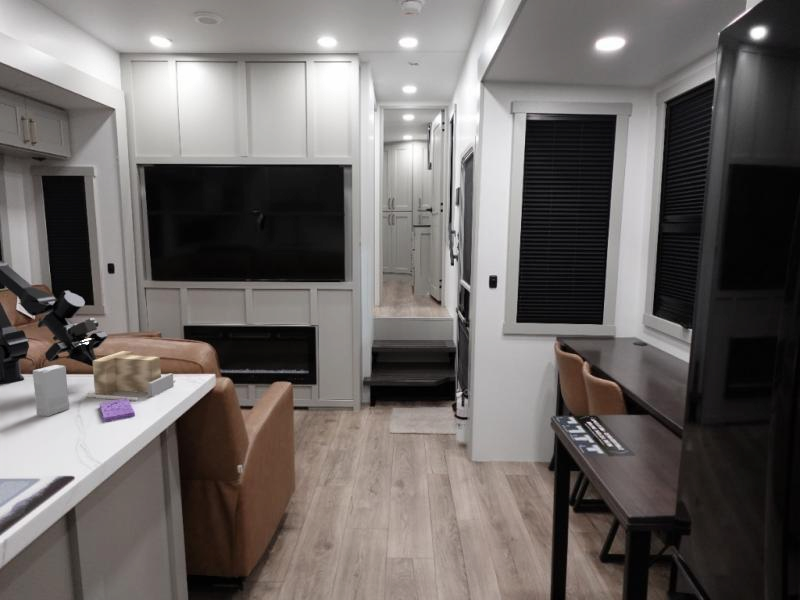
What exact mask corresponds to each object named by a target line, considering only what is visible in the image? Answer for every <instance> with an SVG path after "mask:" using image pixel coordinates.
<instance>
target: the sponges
mask: <svg viewBox="0 0 800 600" xmlns="http://www.w3.org/2000/svg"><path fill="white" fill-rule="evenodd" d="M98 405H99V409H101V410H100V412H102V413H101V416H102V420H103V422H107V423H109V422H112V420H113V421H117V420H122V419H128V418H133V417H135V416H136V414H135V413H136V412H135V409H134V408H133V406H132V404H131V402H130V400H129V399H128V398H125V399H120V400H118V399H113V400H110V401H105V402H99V403H98ZM132 416H133V417H132ZM127 417H128V418H127Z"/></svg>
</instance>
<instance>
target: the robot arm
mask: <svg viewBox="0 0 800 600" xmlns="http://www.w3.org/2000/svg"><path fill="white" fill-rule="evenodd" d="M0 284H1V285H3V286H4V287H5V288H6V289H8V291H10V292H12V294H14V295H15V297H17V298H18V299H19V301H20V306H21V307H22V308H23V309H24V310H25V311H26V312H27V314H29V316H39V315H44V316H43V317H41V318H39V319H38V323H37V327H38V328H44V327H46V328H47V330H49V332H51V333H52V335H53V337H52V339H53V341H58V342H54V343H53V344H52V345H51V346H50V347H49V348H48V349H47V350H46V351H45V353H44V355H45V358H46V360H47V361H48V362H49V363H51V362H54V361H58V360H59V357H60V356H59V355H60V354H63V353H66V352H67V357H66V359H67V360H68V359H71V360H73V361H76V362H78V363H79V362H80V363H81V364H85V365H87V366H91V367H93V360H96V359H97V357H96V355H95V349H97V348H99V347H101V345H102V344H103V343H104V342H105V341H106V340H107V338H109V335H108V334H107V333H106V331H97V332H93V331H96V330H98V327H99V322H98V321H97V319H96V318H94V317H91V318H88V319H85V321H82V322H80V323H77V322H76V323H72V321H71V320H70V319H73V318H74V317H75V316H76V315H77V314H78V313H79V311H80V310H81V309H82V308H83V306H85V303H86V301H85V299H84V298H83V296H80V295H78V294H76V293H73V292H71V291H70V290H69V289H68V290H63V291H62V292H61V293H60V295H59V297H57V298H56V297H55V296H54V295H52V294H50V293H48V292H47V291H44V290H42V289H38V288H37V287H34V286H33V285H32V284H30V283H29V282H28V281H27V280H26V279H25V278H23V277H22V276H21V275H20V274H18V273H17V272H16V270H14V269H13V268H11V267H10V266H9V264H8V263H7V262H6V261H3V260H0ZM91 332H92V333H91ZM90 333H91V334H90ZM88 336H89V337H88ZM29 342H30V340H29V339H28V337H27V336H26V333H25V331H24V330H23V329H20V330H19V329H17V328H15V327H13V325H12V323H11V321H10V319H9V316H8V315H7V312H6V311H5V308H4V306H3V304H2V302H1V301H0V384H5V383H12V382H18V381H23V380H25V377H24V376H23V375H22V373H21V364H20V360H23V359H26V358H27V355H28V351H29V348H30V344H29Z"/></svg>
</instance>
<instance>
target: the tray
mask: <svg viewBox="0 0 800 600" xmlns="http://www.w3.org/2000/svg"><path fill="white" fill-rule="evenodd" d="M175 383H176V379H174V374H173V373H171V372H170V373H167V374H165V375H162V376H161V377H160V378H158V379H156V380H154V381H151V382H149V383H148V393H147V395H148V397H149V396H153V397H155V396H156V394H157V395H159V394H160V392H161V393H162V392H164V391H167V390H169V389H170V388H173V387H174V386H175V385H174V384H175ZM158 393H159V394H158ZM154 395H155V396H154ZM92 397H96V398H95V399H105V398H107V399H109V400H120V399H125V398H128V399H129V401H130V400H131V401H133V402H138V401H139V397H133V396H120V395H110V394H108V395H104V394H95V393H88V394H86V398H92ZM107 399H106V400H107Z"/></svg>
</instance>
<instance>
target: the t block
mask: <svg viewBox="0 0 800 600" xmlns="http://www.w3.org/2000/svg"><path fill="white" fill-rule="evenodd" d="M92 369H93V370H92V371H93V372H92V373H93V382H94V383H93V384H94V394H95V393H97V394H96V395H104V394H108V395H110V394H112V393H114V391H115V392H117V391H119V390H125V391H124V392H132V391H137V392H136V393H145V392H148V383H149V382H151V381H154V380H156V379H158V378H160V377H162V371H161V356H154V355H153V356H149V355H148V356H147V355H135V352H134V351H129V350H128V351H126V350H122V351H118V352H115V353H112V354H109V355H105V356H103V357H100V358H96V360H93V366H92Z"/></svg>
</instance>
